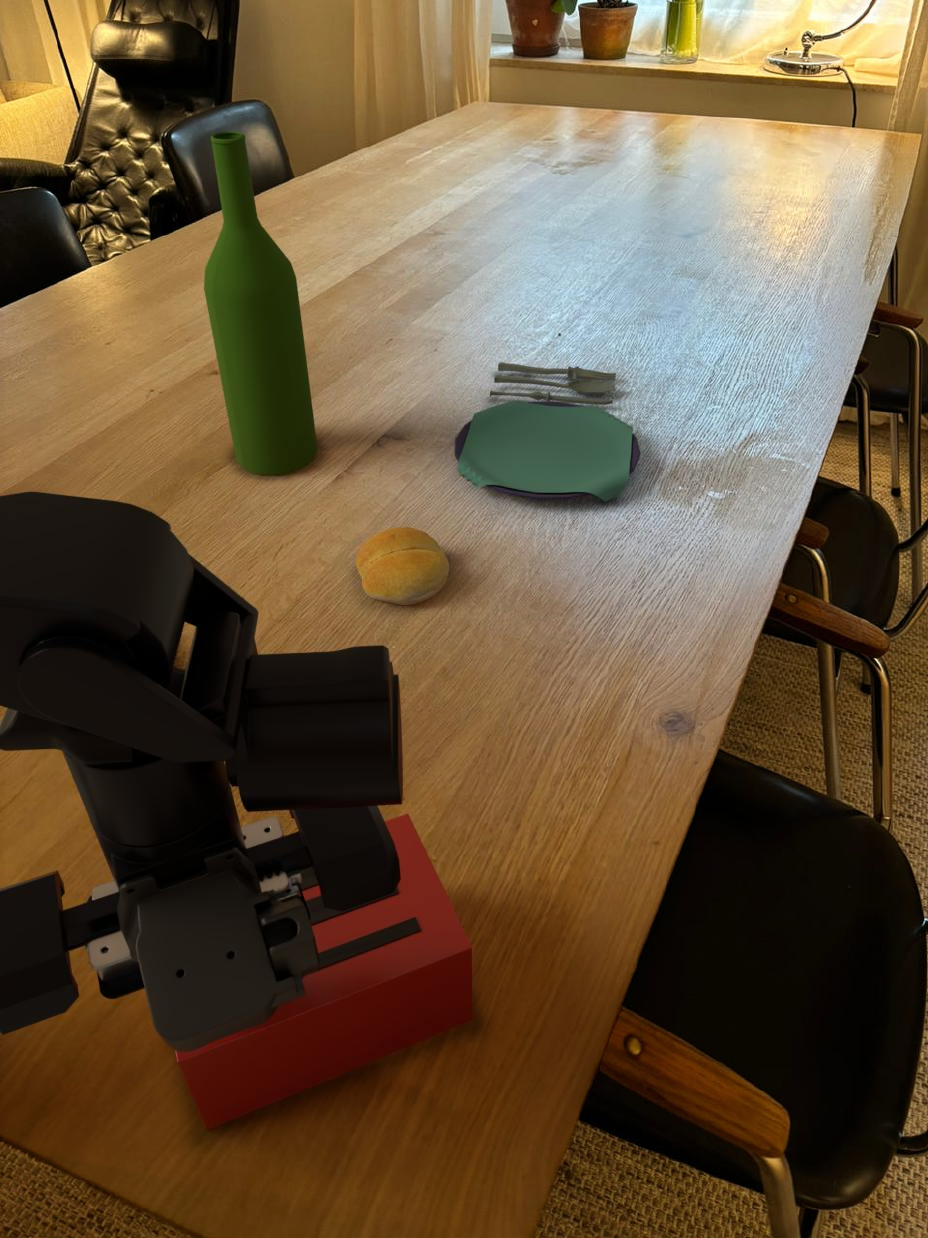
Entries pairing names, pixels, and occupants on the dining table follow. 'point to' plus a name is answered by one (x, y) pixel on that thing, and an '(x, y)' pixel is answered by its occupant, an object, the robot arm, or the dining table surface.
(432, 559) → the bread roll
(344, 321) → the dining table surface
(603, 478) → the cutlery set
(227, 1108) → the toaster
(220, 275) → the wine bottle
